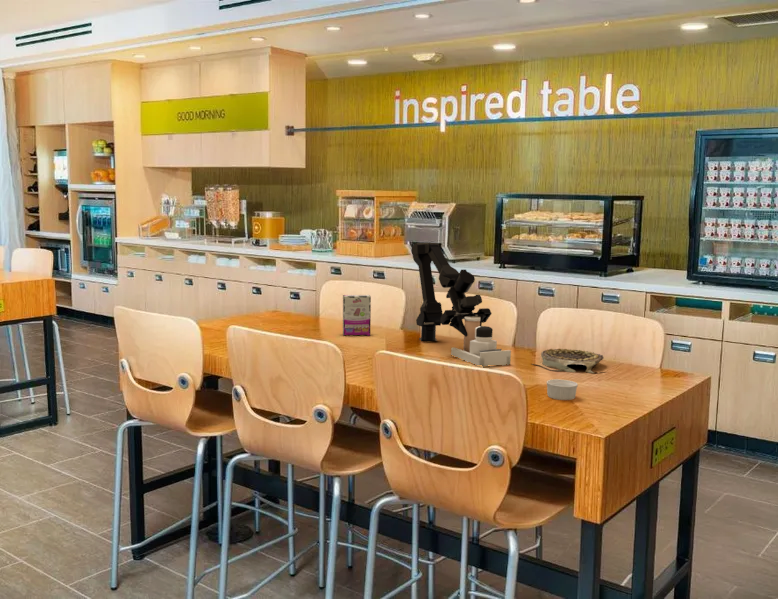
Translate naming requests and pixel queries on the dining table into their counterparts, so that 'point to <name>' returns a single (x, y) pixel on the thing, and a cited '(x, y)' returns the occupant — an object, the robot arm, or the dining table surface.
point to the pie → (569, 359)
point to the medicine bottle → (482, 340)
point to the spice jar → (470, 330)
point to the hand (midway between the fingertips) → (473, 335)
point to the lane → (484, 356)
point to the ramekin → (561, 389)
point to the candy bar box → (356, 314)
